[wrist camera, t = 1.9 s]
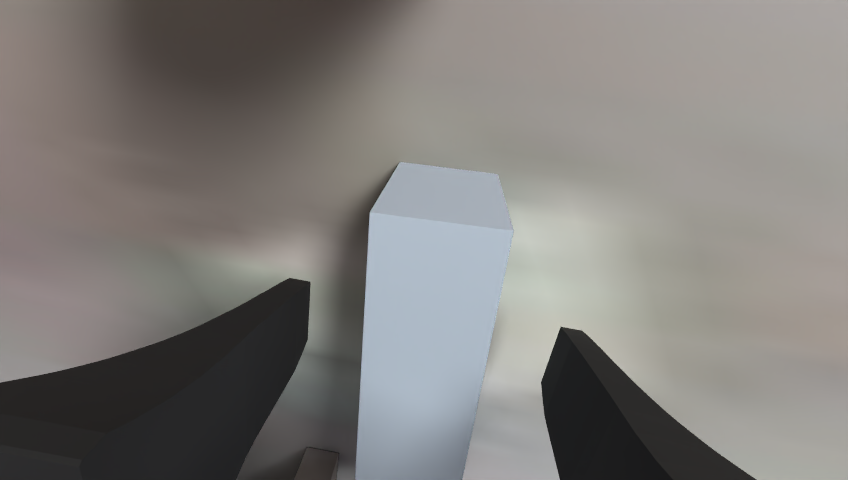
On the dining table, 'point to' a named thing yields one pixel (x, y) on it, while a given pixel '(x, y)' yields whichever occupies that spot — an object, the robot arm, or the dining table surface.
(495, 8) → the dining table surface
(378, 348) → the rail
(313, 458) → the wood plank with uprights
